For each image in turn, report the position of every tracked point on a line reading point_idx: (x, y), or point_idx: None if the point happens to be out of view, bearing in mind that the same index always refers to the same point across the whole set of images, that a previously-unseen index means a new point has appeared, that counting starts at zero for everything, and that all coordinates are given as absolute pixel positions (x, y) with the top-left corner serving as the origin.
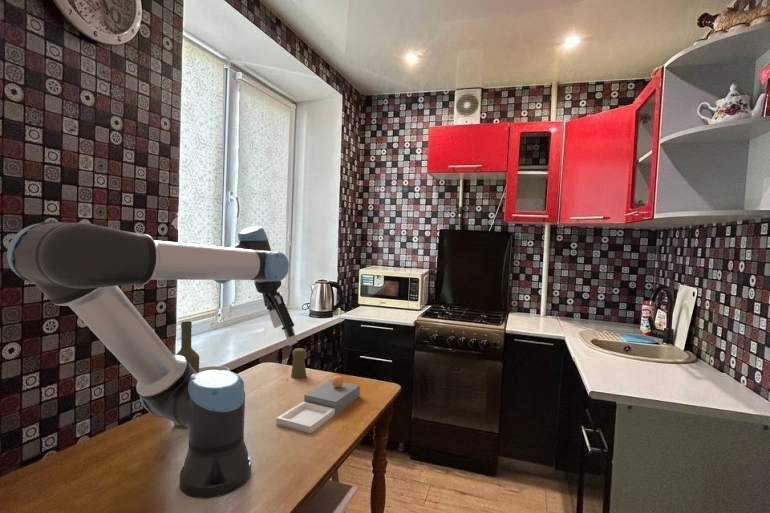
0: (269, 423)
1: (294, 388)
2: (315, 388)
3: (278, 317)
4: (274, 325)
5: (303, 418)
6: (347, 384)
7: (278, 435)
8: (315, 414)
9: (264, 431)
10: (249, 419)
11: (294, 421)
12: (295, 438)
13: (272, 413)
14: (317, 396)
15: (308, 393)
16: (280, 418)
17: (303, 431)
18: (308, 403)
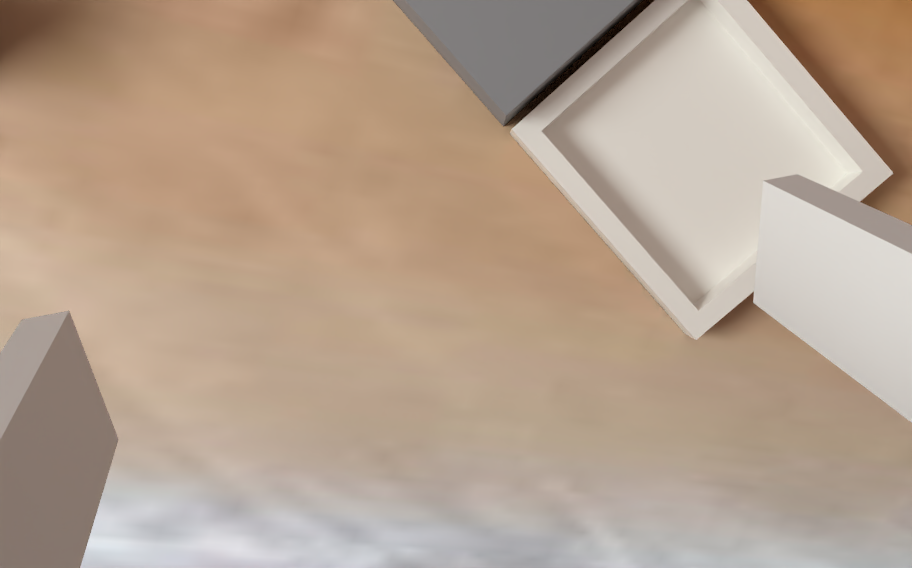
0: (655, 366)
1: (168, 120)
2: (413, 7)
3: (22, 442)
4: (105, 464)
5: (691, 172)
6: None
7: None
8: (666, 89)
9: (743, 405)
10: (561, 463)
11: None
12: None
13: (528, 329)
14: (570, 32)
15: (491, 81)
16: (715, 318)
17: None
18: (557, 104)
